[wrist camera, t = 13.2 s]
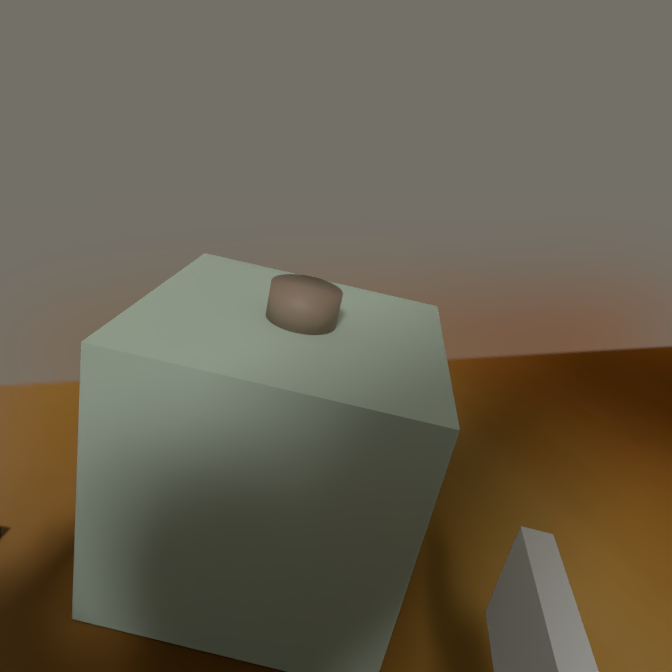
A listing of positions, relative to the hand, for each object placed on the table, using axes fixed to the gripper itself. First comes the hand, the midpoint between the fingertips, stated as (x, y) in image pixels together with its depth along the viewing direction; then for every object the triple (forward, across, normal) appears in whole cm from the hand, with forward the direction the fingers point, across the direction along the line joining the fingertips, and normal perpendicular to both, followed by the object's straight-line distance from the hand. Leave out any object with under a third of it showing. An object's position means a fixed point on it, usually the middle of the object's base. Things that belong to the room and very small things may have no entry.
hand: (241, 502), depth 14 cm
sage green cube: (+7, 0, -8) cm, 10 cm away
